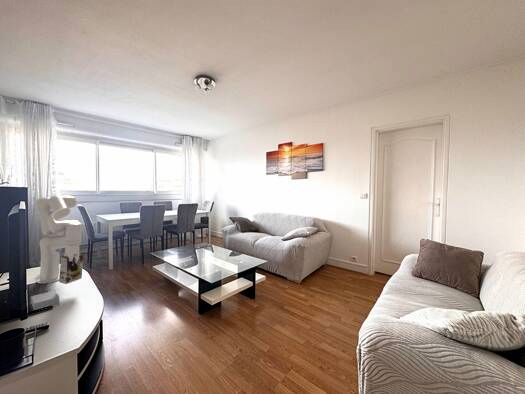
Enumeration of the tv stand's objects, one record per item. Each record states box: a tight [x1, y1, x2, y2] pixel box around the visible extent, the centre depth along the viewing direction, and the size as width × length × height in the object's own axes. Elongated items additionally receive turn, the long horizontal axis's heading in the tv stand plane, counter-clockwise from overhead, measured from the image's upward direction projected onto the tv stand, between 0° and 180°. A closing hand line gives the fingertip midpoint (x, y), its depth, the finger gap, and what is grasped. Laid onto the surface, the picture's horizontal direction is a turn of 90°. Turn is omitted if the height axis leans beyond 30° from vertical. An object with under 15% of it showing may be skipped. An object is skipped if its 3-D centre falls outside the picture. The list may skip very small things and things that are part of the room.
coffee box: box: [58, 253, 84, 285], centre depth 132 cm, size 9×6×16 cm
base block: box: [30, 290, 60, 309], centre depth 120 cm, size 11×10×5 cm
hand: (71, 268), depth 132 cm, fingers closed on coffee box, 8 cm apart
